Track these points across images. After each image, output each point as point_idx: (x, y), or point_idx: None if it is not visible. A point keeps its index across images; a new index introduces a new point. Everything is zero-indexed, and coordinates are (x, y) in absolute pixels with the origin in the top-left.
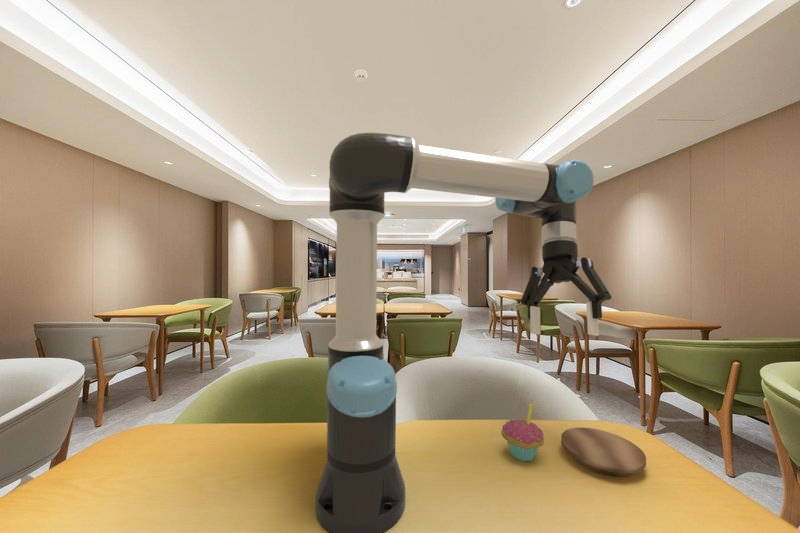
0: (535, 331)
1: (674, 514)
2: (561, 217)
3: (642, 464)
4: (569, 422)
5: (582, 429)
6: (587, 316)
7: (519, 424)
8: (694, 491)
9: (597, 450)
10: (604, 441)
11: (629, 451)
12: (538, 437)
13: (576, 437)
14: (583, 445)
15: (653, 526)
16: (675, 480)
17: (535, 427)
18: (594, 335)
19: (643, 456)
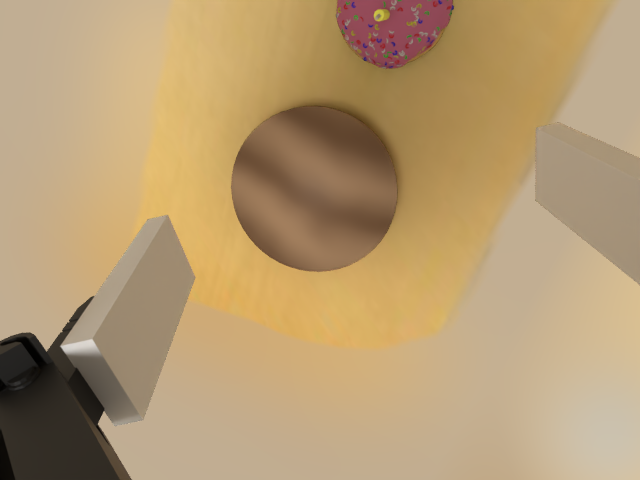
0: (543, 157)
1: (169, 163)
2: None
3: (235, 209)
4: (469, 261)
5: (381, 217)
6: (131, 270)
7: None
8: (203, 254)
9: (298, 167)
10: (322, 217)
11: (276, 230)
12: (342, 19)
13: (358, 169)
14: (324, 154)
15: (156, 101)
16: (231, 257)
17: (367, 30)
18: (191, 269)
19: (255, 239)
